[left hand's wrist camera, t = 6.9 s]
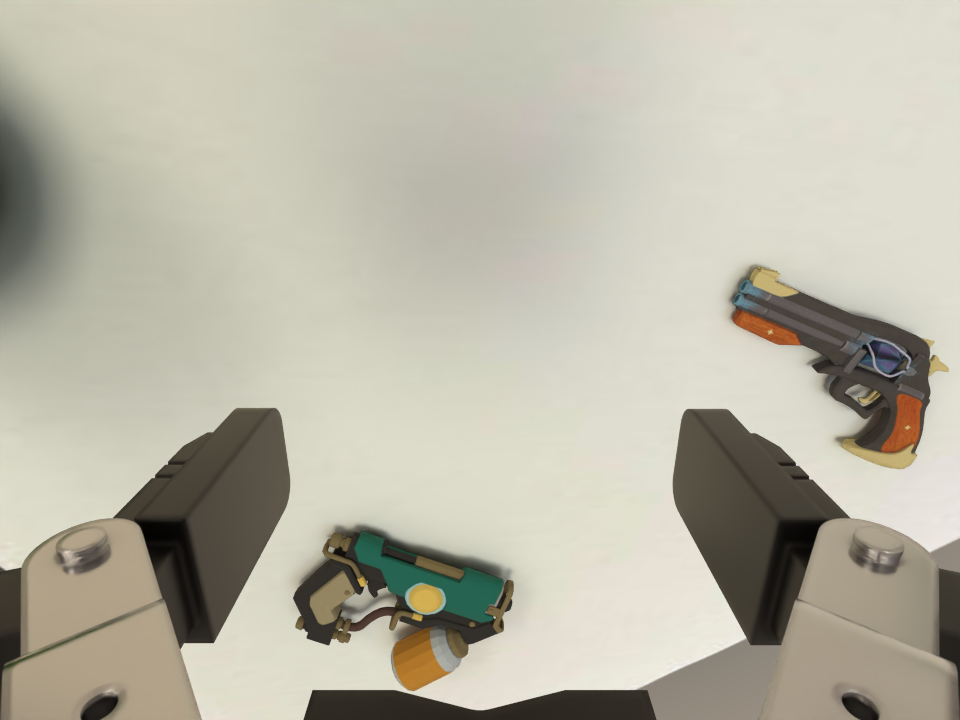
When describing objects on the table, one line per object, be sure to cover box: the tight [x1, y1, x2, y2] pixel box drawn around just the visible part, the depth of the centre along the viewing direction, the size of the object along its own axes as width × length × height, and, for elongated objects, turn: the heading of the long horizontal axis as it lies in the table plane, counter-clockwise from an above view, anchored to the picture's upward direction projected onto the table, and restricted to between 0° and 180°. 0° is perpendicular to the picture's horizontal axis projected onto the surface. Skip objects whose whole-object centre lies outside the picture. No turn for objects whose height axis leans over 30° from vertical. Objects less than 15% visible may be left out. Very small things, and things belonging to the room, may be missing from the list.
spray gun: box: [293, 531, 514, 691], centre depth 48 cm, size 4×17×15 cm
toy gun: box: [733, 267, 949, 469], centre depth 41 cm, size 3×19×10 cm
